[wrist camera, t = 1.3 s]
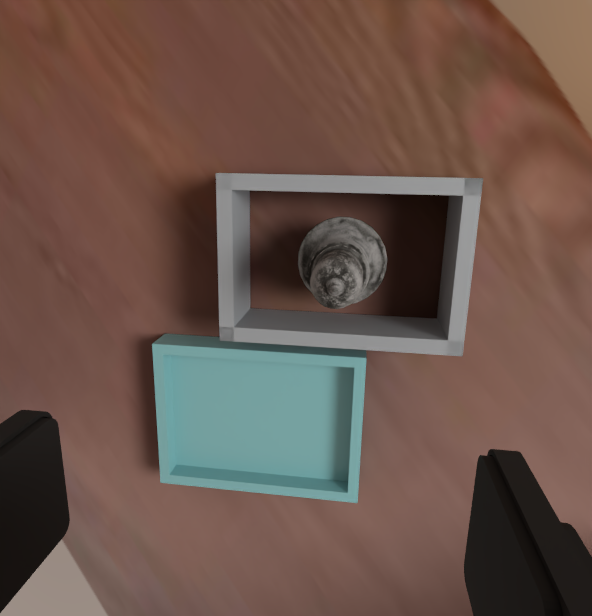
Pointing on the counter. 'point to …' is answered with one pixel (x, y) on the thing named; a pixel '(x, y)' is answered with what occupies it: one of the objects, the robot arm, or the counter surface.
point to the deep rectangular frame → (339, 326)
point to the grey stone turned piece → (342, 261)
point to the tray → (259, 416)
